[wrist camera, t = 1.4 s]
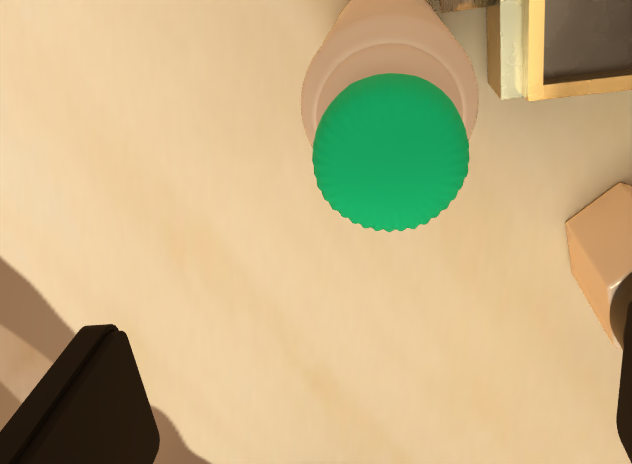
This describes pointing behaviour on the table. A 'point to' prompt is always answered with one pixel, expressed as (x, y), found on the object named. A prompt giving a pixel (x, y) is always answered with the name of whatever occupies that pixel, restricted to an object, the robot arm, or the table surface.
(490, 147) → the table surface
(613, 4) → the gearbox
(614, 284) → the jar
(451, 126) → the water bottle
